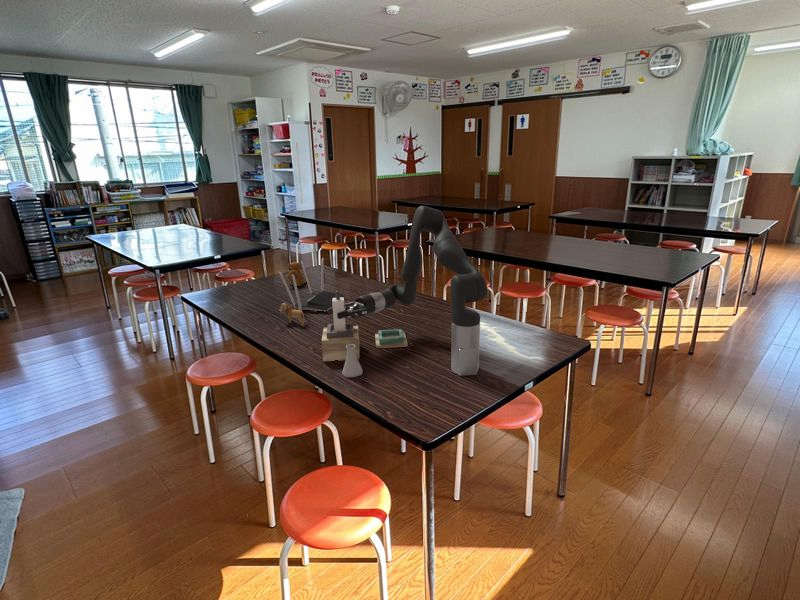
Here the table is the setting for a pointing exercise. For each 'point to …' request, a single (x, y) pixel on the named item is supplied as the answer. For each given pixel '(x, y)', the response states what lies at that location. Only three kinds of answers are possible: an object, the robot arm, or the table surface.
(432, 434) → the table surface
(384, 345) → the lower socket
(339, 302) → the plug
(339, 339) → the upper dock
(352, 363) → the flask
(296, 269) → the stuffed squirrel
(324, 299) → the wireless router
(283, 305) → the lion figurine
